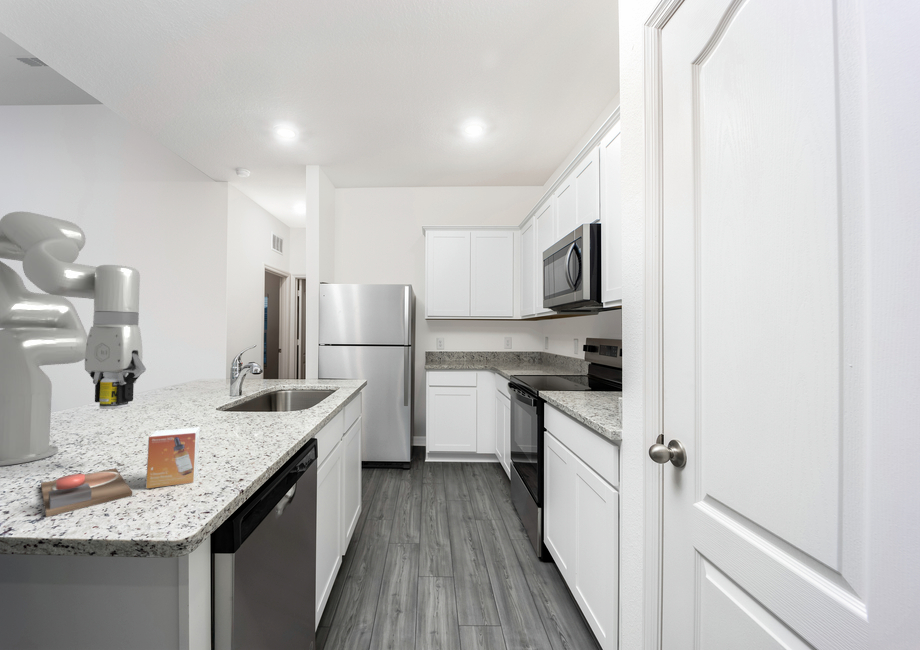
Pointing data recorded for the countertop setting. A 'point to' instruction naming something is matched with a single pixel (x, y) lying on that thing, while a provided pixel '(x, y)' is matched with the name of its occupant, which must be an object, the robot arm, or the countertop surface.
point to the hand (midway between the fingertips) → (114, 400)
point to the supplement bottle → (110, 391)
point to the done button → (70, 481)
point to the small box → (172, 457)
